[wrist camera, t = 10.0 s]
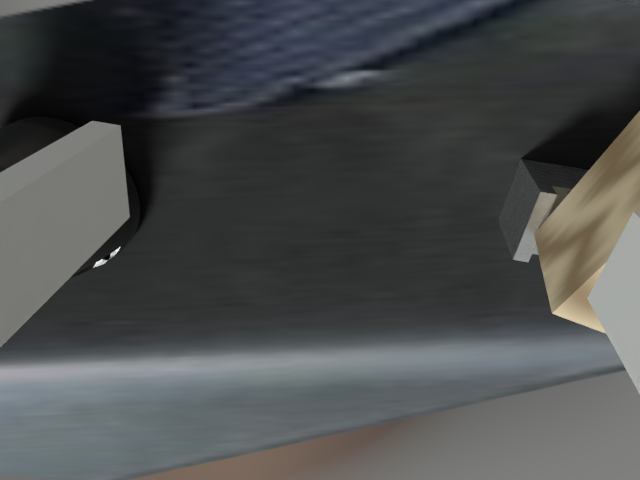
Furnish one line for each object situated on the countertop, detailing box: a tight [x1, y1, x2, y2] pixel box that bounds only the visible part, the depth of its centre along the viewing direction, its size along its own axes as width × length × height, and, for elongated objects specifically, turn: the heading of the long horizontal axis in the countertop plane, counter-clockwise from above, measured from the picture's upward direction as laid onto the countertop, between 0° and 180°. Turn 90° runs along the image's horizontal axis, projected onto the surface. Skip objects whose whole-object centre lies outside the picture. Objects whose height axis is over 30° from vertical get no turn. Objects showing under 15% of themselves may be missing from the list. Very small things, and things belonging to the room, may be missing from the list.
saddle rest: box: [498, 159, 589, 262], centre depth 39 cm, size 10×6×6 cm, turn 83°
